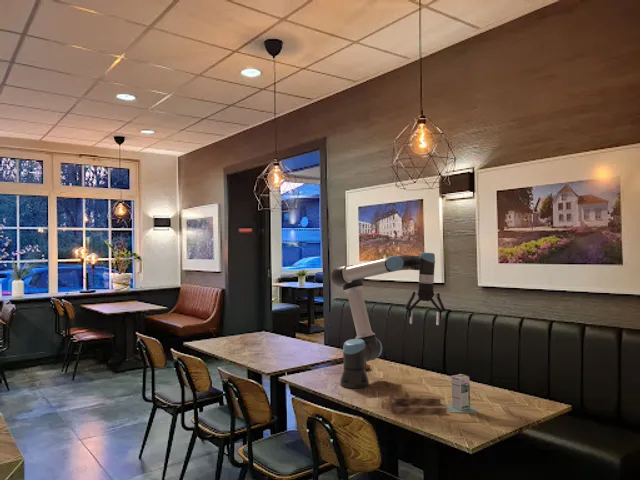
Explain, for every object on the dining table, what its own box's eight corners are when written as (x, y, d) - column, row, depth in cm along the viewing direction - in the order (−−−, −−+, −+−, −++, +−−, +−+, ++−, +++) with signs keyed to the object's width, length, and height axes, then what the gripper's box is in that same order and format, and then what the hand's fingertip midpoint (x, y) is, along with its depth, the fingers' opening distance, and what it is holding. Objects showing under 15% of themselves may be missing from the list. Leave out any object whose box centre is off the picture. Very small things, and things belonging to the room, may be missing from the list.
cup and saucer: (369, 372, 293) (369, 361, 293) (349, 371, 295) (349, 360, 295) (371, 367, 304) (371, 357, 304) (352, 366, 307) (351, 356, 307)
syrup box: (461, 410, 219) (460, 377, 220) (451, 407, 224) (451, 375, 225) (470, 408, 222) (470, 376, 222) (460, 405, 227) (460, 373, 228)
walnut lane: (392, 413, 217) (392, 402, 217) (389, 403, 232) (389, 392, 232) (446, 414, 216) (446, 402, 216) (439, 403, 231) (439, 392, 231)
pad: (450, 412, 217) (450, 412, 217) (444, 404, 229) (444, 403, 229) (478, 413, 217) (478, 412, 217) (471, 404, 229) (471, 404, 229)
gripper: (403, 282, 250) (401, 324, 250) (452, 284, 249) (450, 326, 249) (400, 280, 257) (398, 321, 257) (448, 283, 257) (446, 324, 257)
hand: (424, 324), depth 253 cm, fingers open, 13 cm apart
